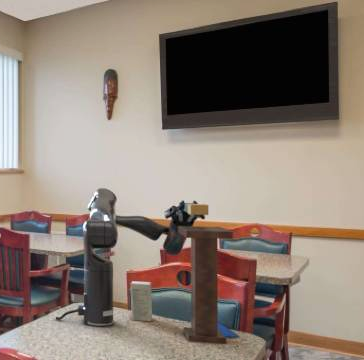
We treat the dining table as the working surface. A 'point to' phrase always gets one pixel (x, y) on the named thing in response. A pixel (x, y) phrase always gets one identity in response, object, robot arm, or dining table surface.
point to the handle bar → (196, 209)
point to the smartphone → (226, 331)
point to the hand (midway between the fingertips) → (189, 203)
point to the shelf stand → (204, 282)
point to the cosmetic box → (141, 301)
